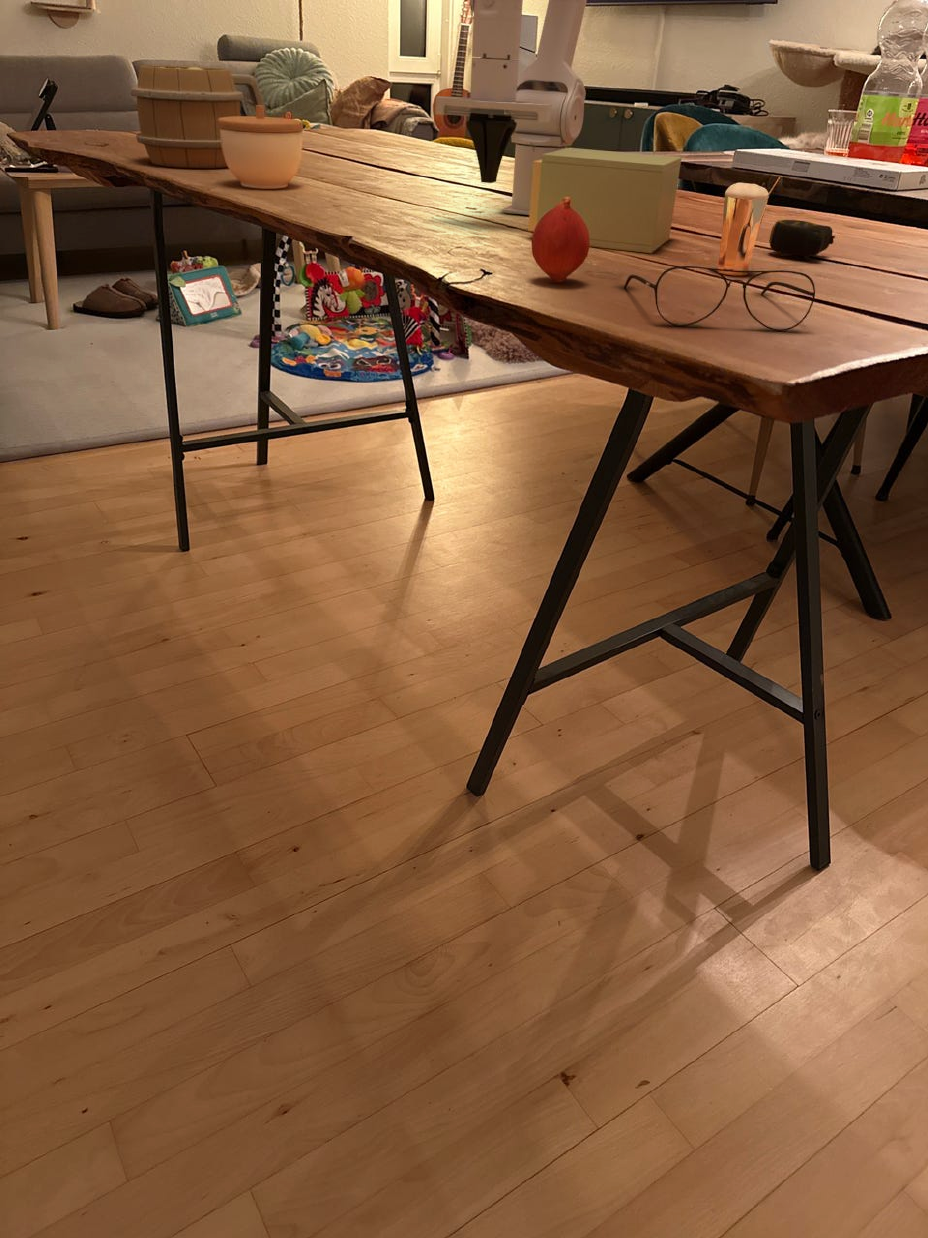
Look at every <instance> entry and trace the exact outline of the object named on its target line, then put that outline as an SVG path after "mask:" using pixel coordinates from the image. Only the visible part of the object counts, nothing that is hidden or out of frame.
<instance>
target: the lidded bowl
mask: <svg viewBox="0 0 928 1238" xmlns="http://www.w3.org/2000/svg"><path fill="white" fill-rule="evenodd" d="M218 127H219V128H220V140H221V147H222V152H223V155H224V159H225V162H226V164H227V166H228V167H227V168H228V169H229V171H230V173H231V174H232V175H233V176H234V177H235V178H236V179H237V181H239V183H240V186H241V187H245V188H251V189H263V190H264V189H265V190H268V189H269V190H272V189H273V190H274V189H284V188H288V186H289V185H288V184H289V183H290V182H291V181H292V179H294V177H295V176H296V175H297V173H298V171H299V169H300V165H301V162H302V155H303V131H304V125H303V122H302V120H298V119H292V118H286V117H285V118H284V117H275V116H274V117H273V116H267V117H264V106H262V105H256V111H255V115H254V116H252V115H247V116H246V115H245V116H243V115H242V116H241V115H240V116H234V117H222V118H219V119H218Z"/></svg>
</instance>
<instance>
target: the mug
mask: <svg viewBox="0 0 928 1238" xmlns="http://www.w3.org/2000/svg"><path fill="white" fill-rule="evenodd" d="M138 70H139V71H138V76H137V77H138V78H137V84H136V86H133V87H131V88H130V96H131V97H136V107H137V115H138V122H139V123H138V124H139V130H140V132H139V133H136V134H135V137H136V140H137V141H136V142H137V143H138V144H141V145H144V147H145V150H146V153H147V156H148V158H149V160H150V163H151V164H152V165H156V166H159V167H167V168H177V169H207V170H208V169H223V168H224V169H227V168H228V166H227V164H226V162H225V159H224V155H223V152H222V147H221V140H220V128H219V127H218V119H219V118H222V117H234V116H241V108H240V101H243V100H244V99H245V98H244V94H243V92H242V91H240V90H237V88H236V86H246V88H247V90H248V92H249V95H250V98H251V101H252V104H253V108H254V111H255V112H256V105H262V106H264V117H268V113H267V108H266V105H265V102H264V99H263V95H262V92H261V89H260V87H259V83H258V80H257V79H256V78H255V76H254V75H251V74H243V73H231V70H230V69H227V68H216V67H203V66H202V67H201V66H182V65H152V64H151V65H148V64H147V65H140V66H139V69H138Z"/></svg>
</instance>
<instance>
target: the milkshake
mask: <svg viewBox="0 0 928 1238" xmlns="http://www.w3.org/2000/svg"><path fill="white" fill-rule="evenodd" d="M780 179H781V176H779V177H778V178H777V180H776V181H775V183H774V184H773V186H772V187H771V189H770V191H768V190H767V189H766V188H765V187H763V186H761V185H758V184H756V183H748V182H747V183H746V182H736V183H733V184H731V185H729V186H728V187H727V189H726V190H725V191H724V202H723V214H722V228H721V229H722V230H721V231H722V232H721V239H720V248H719V255H718V257H719V258H718V264H717V269H725V270H737V271H749V267H750V265H751V261H752V255H753V253H754V249H755V245H756V241H757V239H758V238H757V237H758V234H759V230H760V227H761V224H762V221H763V218H764V215H765V211H766V208H767V204H768V201H769V197H770V195H771V193H772V191H773V190H774V188H775V187H776V185H777V183H778V182H779V180H780ZM717 272H719V273H721V274H722V275H725V276H734V277H735V276H738V277H739V276H740V277H741V276H742V277H743V276H746V275H748V272H729V271H719V270H717Z"/></svg>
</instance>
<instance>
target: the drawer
mask: <svg viewBox="0 0 928 1238" xmlns="http://www.w3.org/2000/svg"><path fill="white" fill-rule="evenodd" d="M541 165H542V159H541V160H537V161H534V162H533V175H532V188H531V201H530V213H529V215H528V226H527V227H528V228H527V231H528V232H534V230H535V227H536V225H537V214H538V201H539V189H540V177H541Z"/></svg>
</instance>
